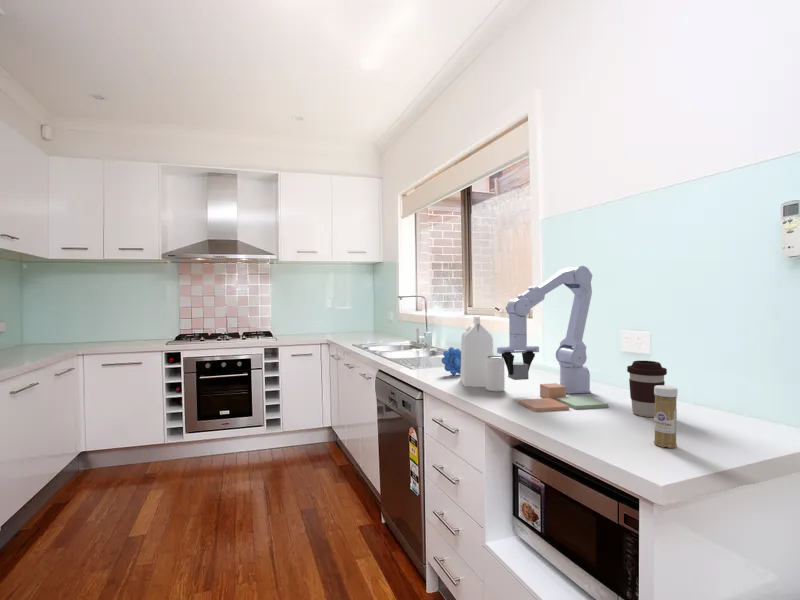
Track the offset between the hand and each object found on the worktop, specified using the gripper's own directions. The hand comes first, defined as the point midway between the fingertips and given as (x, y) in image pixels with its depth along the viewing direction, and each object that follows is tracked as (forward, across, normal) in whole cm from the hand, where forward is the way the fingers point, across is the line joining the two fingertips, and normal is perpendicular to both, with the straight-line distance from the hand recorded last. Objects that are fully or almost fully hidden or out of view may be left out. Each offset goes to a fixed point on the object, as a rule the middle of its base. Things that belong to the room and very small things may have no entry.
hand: (518, 374), depth 154 cm
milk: (+8, +6, -23) cm, 25 cm away
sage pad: (+7, -14, +15) cm, 22 cm away
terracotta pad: (+7, -1, +15) cm, 17 cm away
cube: (+2, 0, 0) cm, 2 cm away
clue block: (+7, -10, +5) cm, 13 cm away
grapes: (+8, +9, -41) cm, 43 cm away
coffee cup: (+8, -25, +30) cm, 40 cm away
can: (+8, +4, -10) cm, 13 cm away
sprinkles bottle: (+8, -10, +54) cm, 55 cm away
